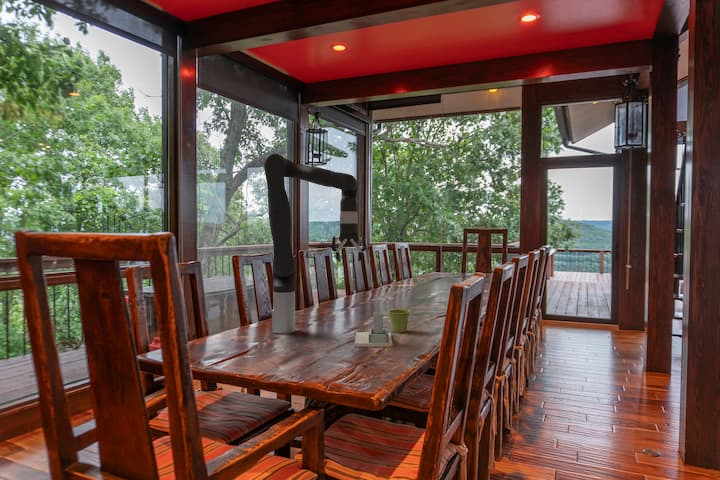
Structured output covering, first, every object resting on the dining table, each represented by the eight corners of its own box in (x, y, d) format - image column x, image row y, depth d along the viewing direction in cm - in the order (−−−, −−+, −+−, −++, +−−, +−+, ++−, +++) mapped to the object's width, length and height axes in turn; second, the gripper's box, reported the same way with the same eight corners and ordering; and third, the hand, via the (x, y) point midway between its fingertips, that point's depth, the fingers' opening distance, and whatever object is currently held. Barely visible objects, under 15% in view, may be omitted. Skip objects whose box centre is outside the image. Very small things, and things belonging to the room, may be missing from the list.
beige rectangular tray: (354, 346, 171) (354, 335, 170) (356, 335, 189) (356, 325, 188) (392, 346, 170) (392, 335, 170) (390, 335, 188) (390, 325, 188)
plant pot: (385, 333, 192) (385, 312, 192) (392, 328, 201) (392, 308, 201) (406, 334, 189) (406, 313, 189) (412, 330, 198) (412, 310, 197)
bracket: (373, 341, 173) (373, 314, 173) (373, 337, 179) (373, 312, 179) (383, 341, 173) (382, 314, 173) (382, 337, 179) (382, 312, 179)
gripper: (331, 222, 189) (331, 262, 189) (365, 222, 189) (365, 261, 189) (332, 222, 196) (332, 260, 197) (365, 222, 196) (366, 260, 196)
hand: (349, 261), depth 193 cm, fingers open, 8 cm apart
